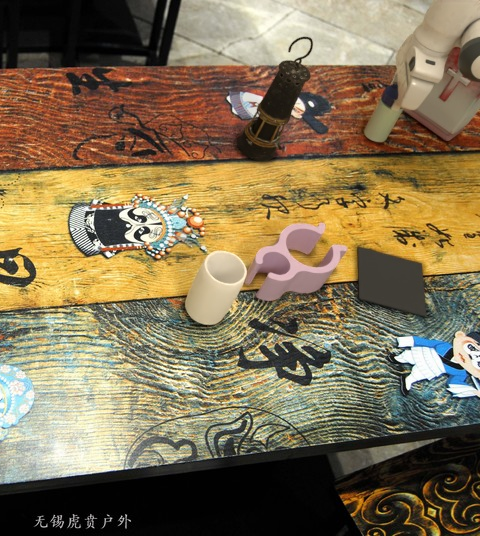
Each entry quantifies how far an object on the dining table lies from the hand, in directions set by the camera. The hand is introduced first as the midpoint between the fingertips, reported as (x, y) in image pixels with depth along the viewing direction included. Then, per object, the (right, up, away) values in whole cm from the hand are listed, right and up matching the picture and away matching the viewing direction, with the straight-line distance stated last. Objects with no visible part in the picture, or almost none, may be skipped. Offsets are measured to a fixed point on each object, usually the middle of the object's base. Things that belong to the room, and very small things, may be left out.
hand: (393, 98), depth 172 cm
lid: (0, +1, -1) cm, 1 cm away
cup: (-50, -48, -31) cm, 76 cm away
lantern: (-32, -12, 0) cm, 34 cm away
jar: (-1, -7, +9) cm, 11 cm away
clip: (-31, -41, -22) cm, 56 cm away
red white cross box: (+16, -2, +15) cm, 22 cm away
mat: (-9, -42, -19) cm, 47 cm away
